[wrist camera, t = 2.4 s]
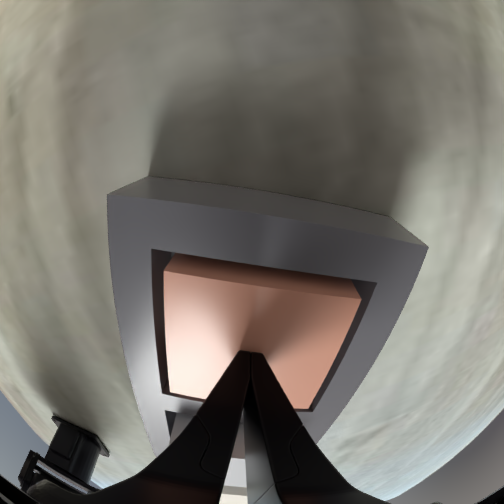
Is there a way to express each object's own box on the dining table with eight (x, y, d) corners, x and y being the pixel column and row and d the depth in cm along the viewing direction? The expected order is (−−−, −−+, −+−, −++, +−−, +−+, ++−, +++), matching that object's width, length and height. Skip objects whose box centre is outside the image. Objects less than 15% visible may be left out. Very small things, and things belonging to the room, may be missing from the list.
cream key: (249, 487, 18) (248, 507, 16) (186, 479, 18) (183, 499, 16) (260, 471, 16) (259, 496, 14) (184, 462, 16) (179, 486, 14)
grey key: (267, 460, 15) (267, 488, 13) (182, 449, 15) (176, 477, 12) (289, 423, 12) (292, 461, 10) (177, 410, 12) (168, 446, 10)
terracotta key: (302, 370, 12) (307, 408, 10) (181, 354, 12) (170, 391, 10) (342, 264, 10) (361, 299, 8) (184, 240, 10) (163, 270, 8)
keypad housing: (265, 473, 22) (265, 497, 19) (172, 461, 21) (167, 484, 18) (389, 216, 10) (428, 247, 7) (147, 176, 10) (107, 194, 7)
